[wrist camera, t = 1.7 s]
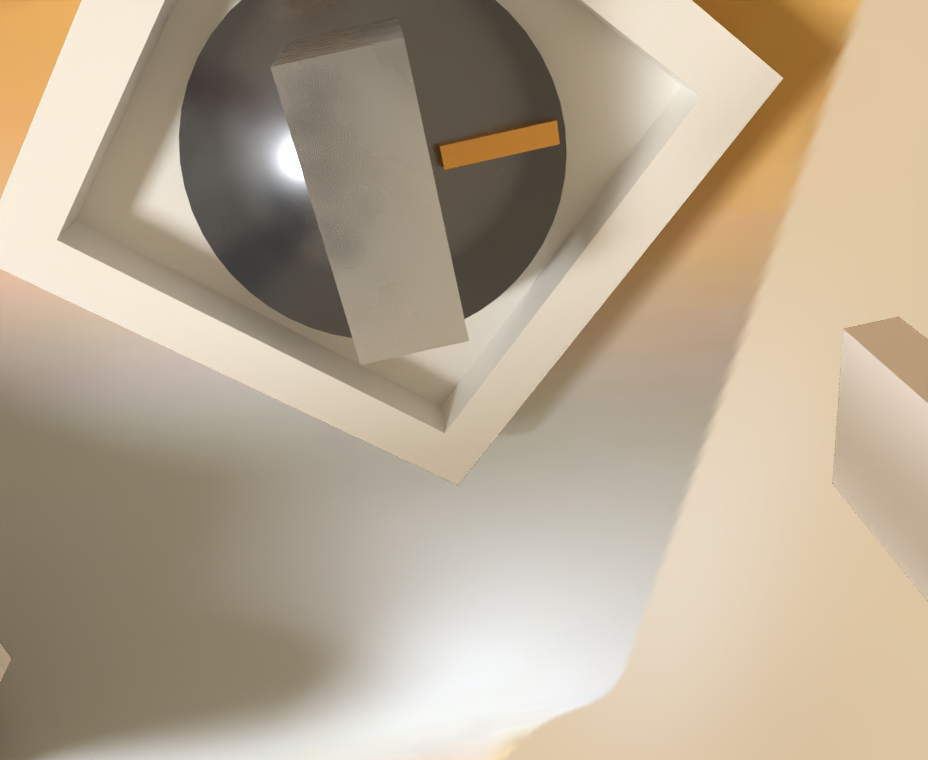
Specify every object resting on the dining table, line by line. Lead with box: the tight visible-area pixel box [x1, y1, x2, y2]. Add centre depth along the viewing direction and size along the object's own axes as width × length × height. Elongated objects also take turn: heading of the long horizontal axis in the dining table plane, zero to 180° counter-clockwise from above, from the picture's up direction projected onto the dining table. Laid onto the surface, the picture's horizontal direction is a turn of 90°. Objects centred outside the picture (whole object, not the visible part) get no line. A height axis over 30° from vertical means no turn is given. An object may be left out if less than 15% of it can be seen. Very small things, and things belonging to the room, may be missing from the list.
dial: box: [179, 0, 567, 365], centre depth 25 cm, size 13×13×7 cm
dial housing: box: [0, 0, 783, 485], centre depth 28 cm, size 20×20×4 cm
